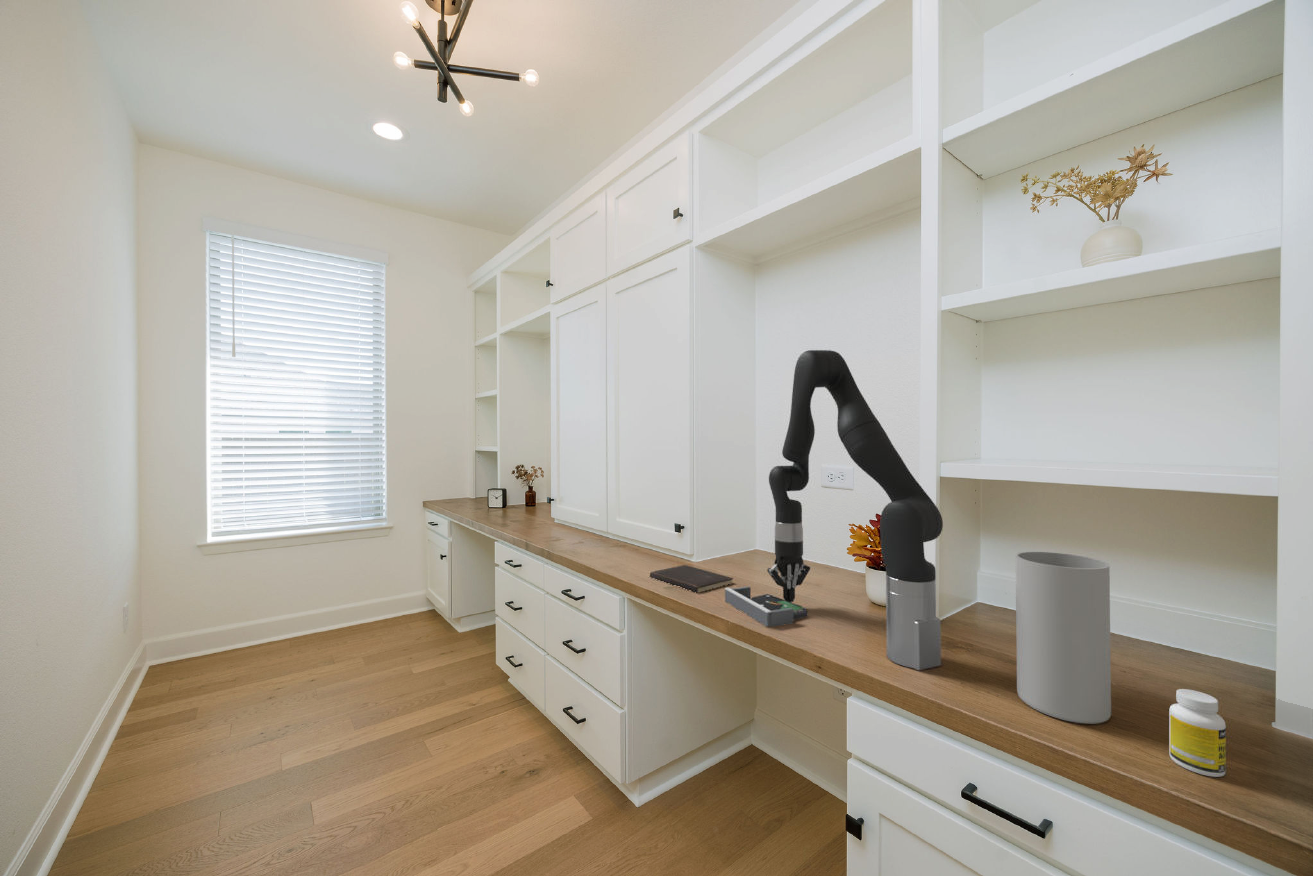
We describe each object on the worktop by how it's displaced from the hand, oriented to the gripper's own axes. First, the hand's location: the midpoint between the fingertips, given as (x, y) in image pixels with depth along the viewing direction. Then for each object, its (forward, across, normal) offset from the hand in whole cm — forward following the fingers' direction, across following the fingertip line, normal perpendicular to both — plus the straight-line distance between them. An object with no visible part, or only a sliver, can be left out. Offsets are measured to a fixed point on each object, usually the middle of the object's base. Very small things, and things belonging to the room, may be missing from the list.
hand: (789, 601), depth 138 cm
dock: (+2, -10, 0) cm, 11 cm away
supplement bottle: (+2, +13, -77) cm, 78 cm away
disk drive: (+2, -6, -2) cm, 7 cm away
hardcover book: (+2, -14, +34) cm, 37 cm away
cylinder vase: (+2, +13, -60) cm, 61 cm away
